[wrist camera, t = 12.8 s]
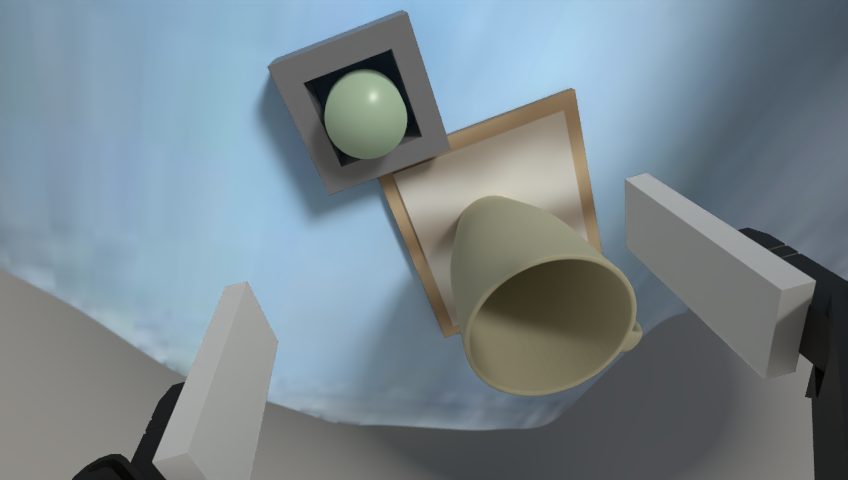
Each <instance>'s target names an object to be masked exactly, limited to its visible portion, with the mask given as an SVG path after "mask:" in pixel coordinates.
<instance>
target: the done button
mask: <svg viewBox="0 0 848 480" xmlns="http://www.w3.org/2000/svg"><path fill="white" fill-rule="evenodd" d="M325 126H326V130H327V132H328V135H329V137H330V139H331V140H332V141H333V143H334V144H335V145H336V146H337V147H338V148H339V149H340V150H341V151H343V152H344V153H346V154H348V155H350V156H352V157H355V158H360V159H374V158H378V157H381V156H384V155H386V154H388V153H389V152H391V151H392V150H393V149H394V148H395V147H396V146H397V145H398V144H399V143H400V141H401V140H402V138H403V136H404V133H405V130H406V126H407V112H406V108H405V104H404V102H403V100H402V98H401V95H400V93H399V91H398V89H397V87H396V86H395V84H394V83H393V82H392V81H391V80H390V79H389V78H388V77H387V76H385V75H384V74H382V73H380V72H378V71H376V70H372V69H355V70H352V71H349V72H347V73H345V74H343V75H342V76H341V77H339V78H338V79H337V80H336V81H335V83H334V84H333V86H332V87H331V89H330V91H329V94H328V98H327V103H326V108H325Z"/></svg>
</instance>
